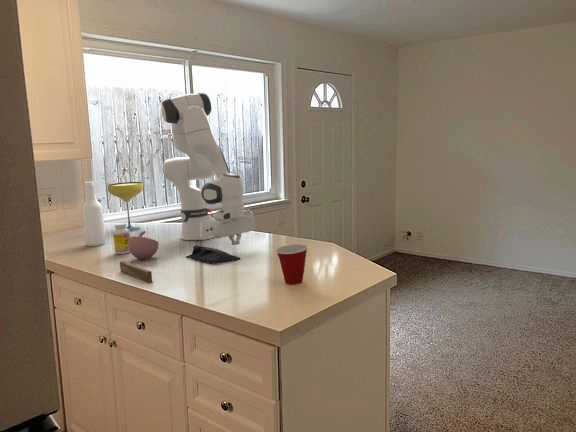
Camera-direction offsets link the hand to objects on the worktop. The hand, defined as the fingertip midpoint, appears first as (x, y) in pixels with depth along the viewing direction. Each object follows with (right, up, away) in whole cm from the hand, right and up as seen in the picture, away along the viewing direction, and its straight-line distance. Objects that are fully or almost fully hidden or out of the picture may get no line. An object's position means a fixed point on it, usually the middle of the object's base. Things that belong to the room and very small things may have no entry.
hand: (235, 244), depth 207 cm
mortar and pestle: (-37, -6, -4) cm, 38 cm away
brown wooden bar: (-32, -10, -29) cm, 45 cm away
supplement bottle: (-50, -4, +9) cm, 51 cm away
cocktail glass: (-64, +4, +61) cm, 88 cm away
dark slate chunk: (-8, -6, -8) cm, 13 cm away
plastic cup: (+24, -10, -44) cm, 51 cm away
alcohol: (-69, -2, +27) cm, 75 cm away
